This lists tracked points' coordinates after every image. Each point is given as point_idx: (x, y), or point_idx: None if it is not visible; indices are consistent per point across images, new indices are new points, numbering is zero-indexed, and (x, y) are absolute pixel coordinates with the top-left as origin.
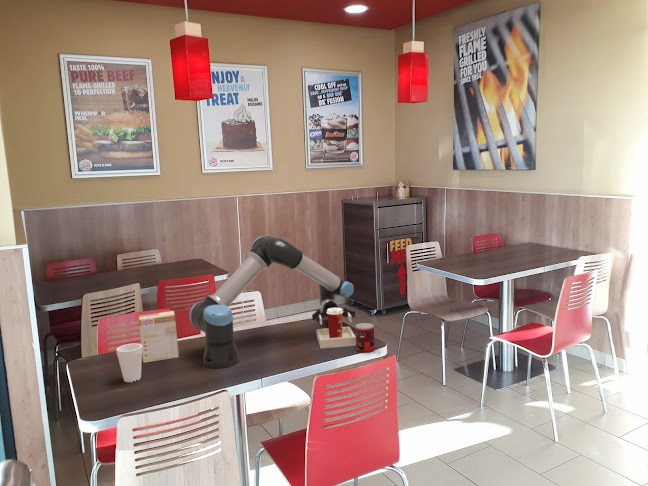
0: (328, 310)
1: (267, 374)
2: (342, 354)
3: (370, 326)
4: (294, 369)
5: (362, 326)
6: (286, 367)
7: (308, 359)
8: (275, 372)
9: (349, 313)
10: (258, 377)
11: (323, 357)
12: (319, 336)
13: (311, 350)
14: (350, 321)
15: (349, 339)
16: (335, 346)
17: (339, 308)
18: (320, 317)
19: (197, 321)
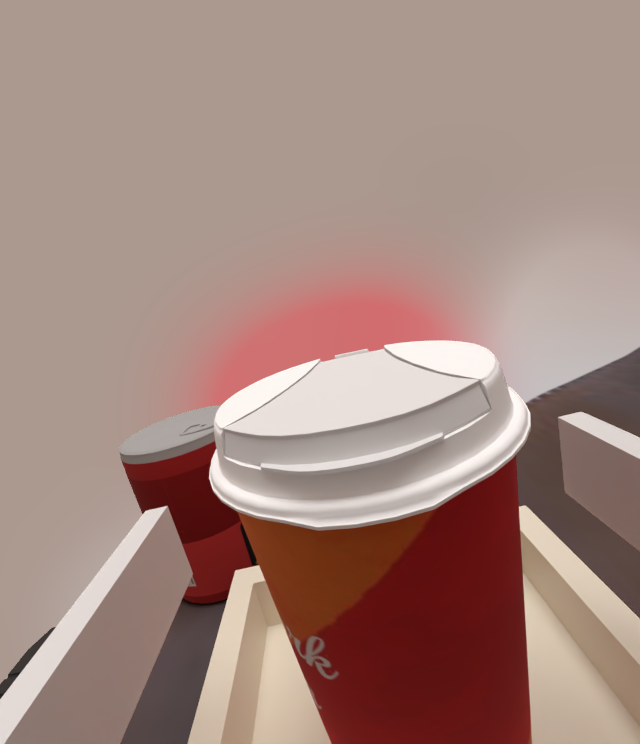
0: (450, 342)
1: (606, 372)
2: None
3: (152, 435)
4: (531, 400)
5: (195, 428)
6: (576, 401)
7: (524, 450)
8: (588, 381)
9: (28, 669)
10: (620, 362)
11: None
12: (592, 578)
13: (591, 537)
14: (184, 564)
15: None
16: None
17: (248, 412)
18: (625, 439)
19: None
